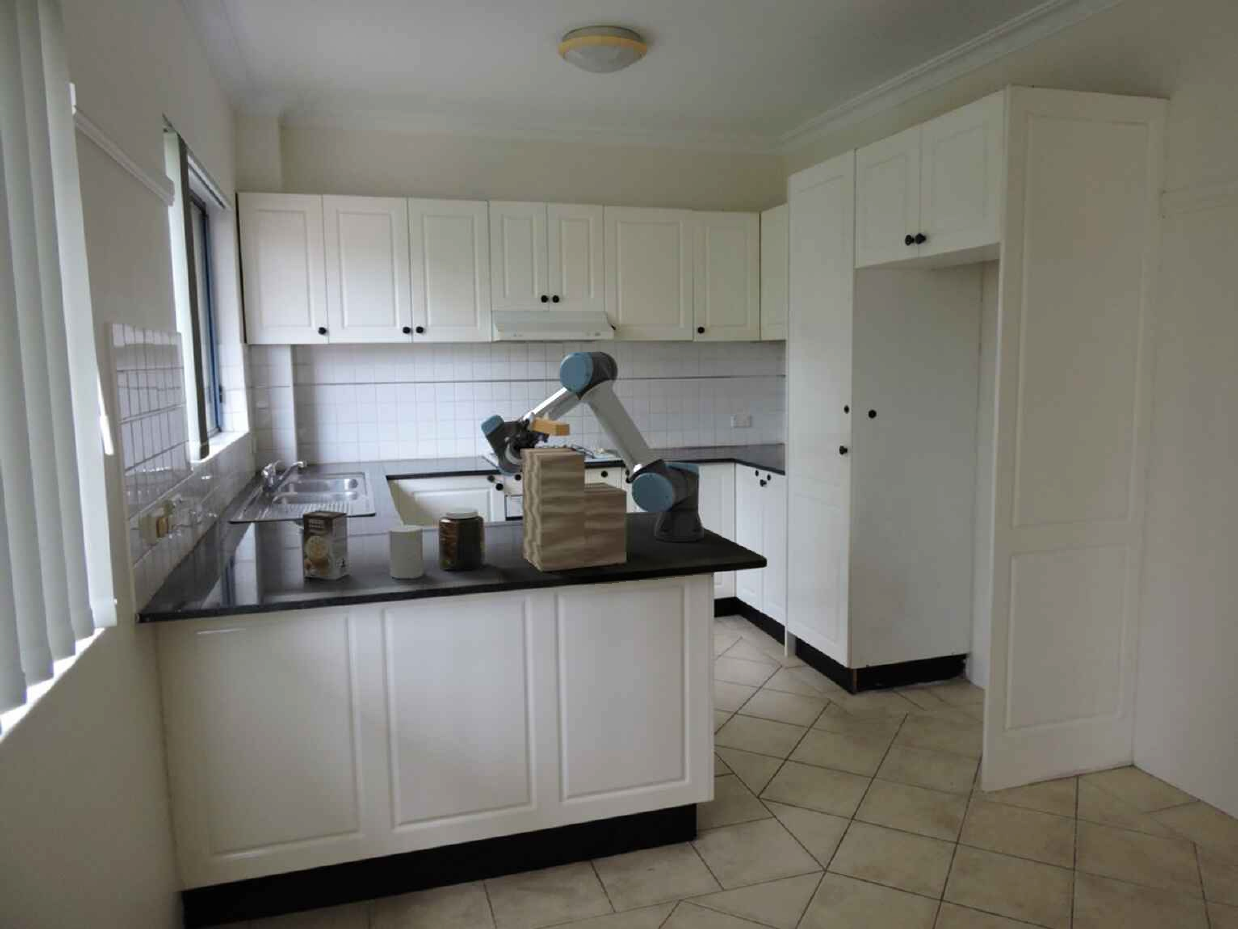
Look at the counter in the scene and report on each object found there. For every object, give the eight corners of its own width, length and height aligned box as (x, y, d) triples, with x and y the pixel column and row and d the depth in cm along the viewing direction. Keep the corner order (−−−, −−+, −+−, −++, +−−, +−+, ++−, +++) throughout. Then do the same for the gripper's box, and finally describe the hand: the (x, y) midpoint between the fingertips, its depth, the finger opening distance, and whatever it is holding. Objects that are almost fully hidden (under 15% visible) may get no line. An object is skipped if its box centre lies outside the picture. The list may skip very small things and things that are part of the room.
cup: (414, 579, 210) (413, 532, 209) (384, 577, 212) (383, 531, 210) (428, 571, 218) (427, 525, 217) (399, 569, 220) (397, 524, 218)
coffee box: (303, 576, 212) (300, 514, 210) (320, 570, 218) (317, 509, 216) (333, 580, 209) (331, 516, 207) (350, 574, 215) (347, 512, 213)
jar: (463, 574, 216) (462, 516, 214) (430, 567, 222) (428, 511, 220) (493, 564, 226) (493, 509, 224) (461, 558, 232) (459, 504, 230)
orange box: (569, 435, 228) (569, 424, 228) (555, 436, 227) (555, 424, 226) (538, 427, 252) (538, 417, 251) (525, 427, 250) (525, 417, 250)
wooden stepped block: (626, 562, 228) (626, 452, 224) (540, 571, 219) (539, 456, 214) (602, 548, 243) (602, 445, 239) (521, 556, 234) (520, 449, 230)
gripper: (548, 458, 265) (571, 426, 245) (495, 461, 258) (515, 428, 238) (544, 436, 267) (566, 403, 247) (491, 438, 260) (510, 404, 240)
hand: (541, 415), depth 243 cm, fingers closed on orange box, 4 cm apart
